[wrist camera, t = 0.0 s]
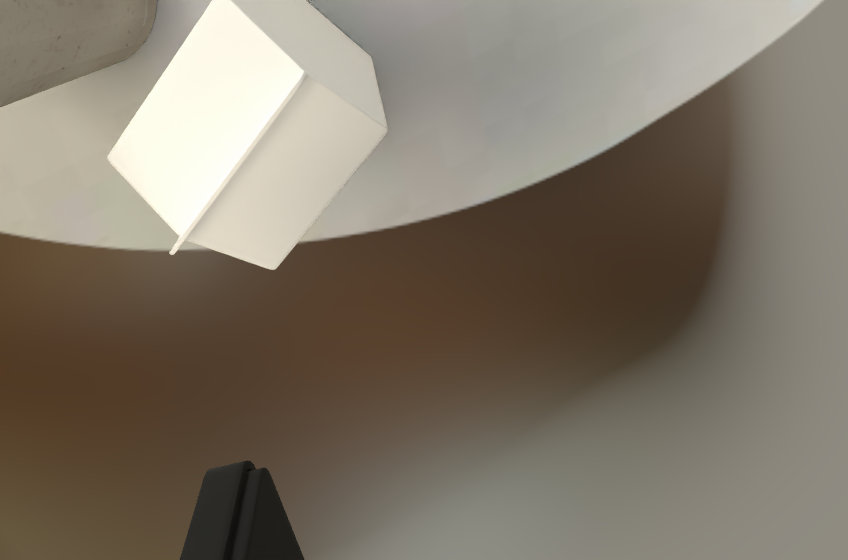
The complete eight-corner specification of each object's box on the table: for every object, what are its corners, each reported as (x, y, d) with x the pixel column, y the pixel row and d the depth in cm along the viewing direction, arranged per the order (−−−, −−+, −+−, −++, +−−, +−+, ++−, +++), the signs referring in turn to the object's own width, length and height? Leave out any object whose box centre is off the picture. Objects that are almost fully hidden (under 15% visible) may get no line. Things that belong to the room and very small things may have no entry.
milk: (372, 56, 36) (404, 158, 16) (308, 139, 38) (266, 323, 18) (282, -21, 34) (195, -11, 14) (218, 71, 36) (60, 193, 16)
